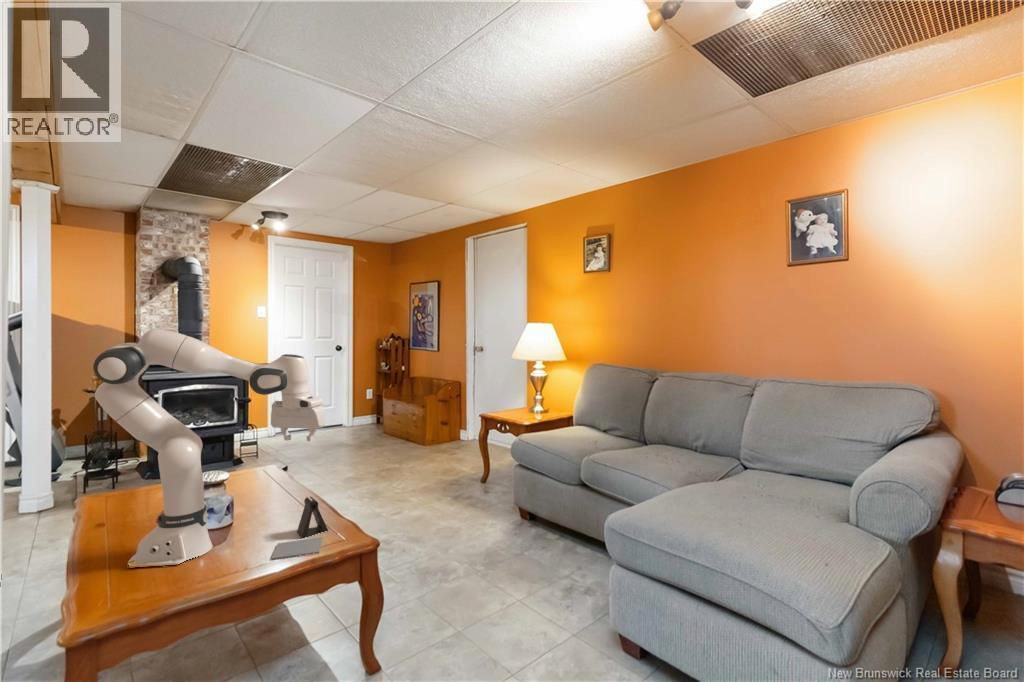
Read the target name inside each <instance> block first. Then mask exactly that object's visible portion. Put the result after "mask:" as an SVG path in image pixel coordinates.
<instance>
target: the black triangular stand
mask: <svg viewBox="0 0 1024 682" xmlns="http://www.w3.org/2000/svg"><path fill="white" fill-rule="evenodd" d="M303 500H304V501H303V503H304V507H303V511H302V513H301V514H302V515H301V517H300V520H299V523H298V527H297V531H296V533H297V534H298V536H299V537H300V538H301V539H302V538H303V539H306V538H305V537H307V538H309V536H310V537H313V536H312V535H314V536H316V535H315V534H317V535H319V534H318V533H320V534H322V533H321V532H324V533H326V532H325V531H327V532H328V531H329V528H328V527H327V524H326V522H325V520H324V518H323V516H322V514H321V512H320V510H319V502H318V501H317V500H316V499H315V498H314V497H312V496H309V497H307V496H306V497H305V498H304V499H303ZM312 514H313V516H314V520H315V523H316V526H315V527H314V526H313V527H311V528H310V524H311V520H312Z"/></svg>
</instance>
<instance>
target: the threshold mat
mask: <svg viewBox="0 0 1024 682" xmlns="http://www.w3.org/2000/svg"><path fill="white" fill-rule="evenodd" d="M322 538H323V536H322V537H315V538H314V537H313V538H308V539H307V538H304V539H300V540H291V541H285V542H284V541H283V542H278V543H277V545H276V546H275V549H274V551H273V553H272V555H271V560H270V561H275V560H276V559H277V560H282V558H283V559H289V558H288V557H290V558H294V557H293V556H297V557H300V556H299V555H304V556H307V555H306V554H311V555H314V554H313V553H318V554H320V552H319V551H320V550H321V547H322V542H323V539H322Z"/></svg>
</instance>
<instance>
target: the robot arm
mask: <svg viewBox="0 0 1024 682" xmlns="http://www.w3.org/2000/svg"><path fill="white" fill-rule="evenodd" d="M152 365H160V366H164V367H167V368H170V369H173V370H176V371H180V372H184V373H190V374H205V373H207V374H208V373H209V374H210V373H219V374H225V375H229V376H231V377H234V378H238V379H242V380H245V381H248V382H249V383H248V384H249V386H250V389H251V390H252V391H253V392H254V393H256V394H259V395H262V396H267V395H272V394H274V393H278V392H280V393H281V400H275V401H274V402H272V404H271V412H270V425H271V426H272V428H273V429H275V428H277V429H280V432H281V434H282V435H283V440H284V441H290V440H292V434H290V433H289V431H288V430H289V429H308V432H309V434H308V435H307V436H306V441H307V442H313V441H314V440H315V439H314V437H315V434H316V431H317V430H319V429H321V428H324V427H325V425H326V412H325V409H324V406H322V405H323V404H324V400H323V398H321V397H318V396H315V395H313V394H310V393H311V392H310V388H309V384H308V383H309V378H310V377H309V369H308V363H307V361H306V358H305V357H303V356H301V355H298V354H288V353H285V354H282V355H280V356H279V357H278V358H276V359H275V360H273V361H271V362H265V363H263V362H262V363H256V362H251V361H249V360H246V359H245V360H244V359H242V358H239V357H235V356H232V355H229V354H227V353H225V352H223V351H221V350H219V349H218V348H215V347H213V346H212V345H210V344H208V343H206V342H204V341H202V340H200V339H197V338H195V337H193V336H188V335H186V334H183V333H180V332H175V331H171V330H167V329H161V328H152V329H151V328H150V329H149V330H148V331H145V333H144V334H143V335H141V337H140V339H139V341H126V342H125V341H124V342H123V343H120V344H116V345H113V346H111V347H109V348H108V349H106V350H105V351H103V352H101V353H99V355H97V357H96V358H95V360H94V361H93V366H92V367H93V372H94V374H95V375H94V376H96V378H98V380H100V381H101V382H102V383H101V384H100V385H98V387H97V388H96V390H95V392H94V397H95V400H96V401H97V402H98V404H99V405H100V407H101V408H102V409H103V411H105V413H106V414H107V415H109V417H111V419H113V420H114V421H115V422H116V423H117V424H119V426H120V427H122V429H124V430H125V431H126V432H127V433H129V434H130V435H131V436H132V437H133V438H134V439H136V440H137V441H140V442H142V443H144V444H145V445H146V446H149V447H150V448H151V449H153V450H154V451H156V452H157V453H158V455H157V461H158V469H159V477H160V481H161V483H160V484H161V488H162V498H163V499H162V501H163V503H162V504H163V510H162V511H161V512H160V514H159V515H158V516H157V518H156V519H155V524H157V525H156V527H155V528H153V529H152V530H150V532H149V533H147V534H146V535H145V536H144V537H143V538H141V540H140V541H139V542H138V545H137V548H136V553H135V554H133V555H132V557H131V558H130V559H129V560H128V561H127V566H128V565H129V566H137V565H139V566H141V565H142V566H143V565H171V564H172V565H173V564H180V563H182V562H184V561H186V560H188V561H190V560H189V559H191V560H192V558H194V559H196V558H198V556H199V557H202V556H203V555H204V554H207V553H208V552H210V551H211V550H212V549H213V547H214V546H213V543H212V541H211V538H210V534H209V531H208V530H209V529H208V524H207V522H208V511H207V506H206V503H205V488H204V479H203V471H202V460H201V459H202V456H201V455H202V450H203V441H202V439H201V437H200V436H199V435H198V434H197V433H195V432H194V431H193V430H192V429H190V428H189V427H188V426H186V425H185V424H184V423H182V422H181V421H180V420H179V419H178V418H175V417H174V416H173V415H171V414H170V413H169V412H168V411H167V410H166V409H165V408H164V407H162V406H161V405H160V404H159V403H158V402H157V401H156V400H155V399H153V397H151V396H150V395H149V394H148V393H147V392H146V391H145V390H144V389H143V388H142V387H141V386H140V384H139V380H141V379H142V377H144V375H145V373H146V372H147V371H148V370H149V369H150V367H151V366H152ZM195 557H196V558H195ZM133 560H135V562H133V563H129V562H130V561H133ZM186 562H187V561H186ZM184 563H185V562H184ZM182 564H183V563H182ZM180 565H181V564H180Z"/></svg>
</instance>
